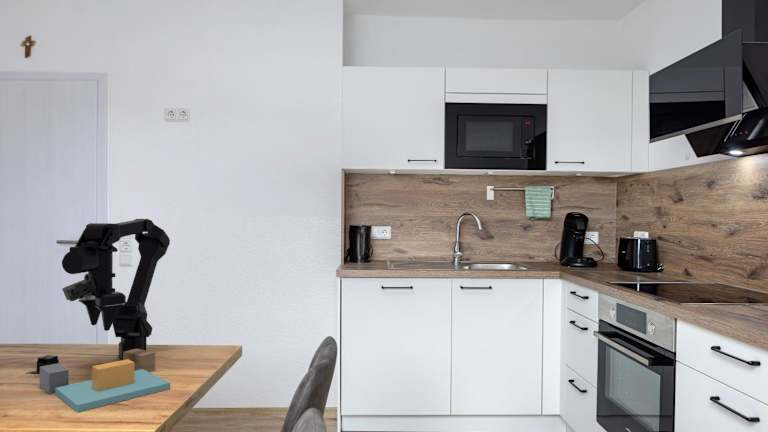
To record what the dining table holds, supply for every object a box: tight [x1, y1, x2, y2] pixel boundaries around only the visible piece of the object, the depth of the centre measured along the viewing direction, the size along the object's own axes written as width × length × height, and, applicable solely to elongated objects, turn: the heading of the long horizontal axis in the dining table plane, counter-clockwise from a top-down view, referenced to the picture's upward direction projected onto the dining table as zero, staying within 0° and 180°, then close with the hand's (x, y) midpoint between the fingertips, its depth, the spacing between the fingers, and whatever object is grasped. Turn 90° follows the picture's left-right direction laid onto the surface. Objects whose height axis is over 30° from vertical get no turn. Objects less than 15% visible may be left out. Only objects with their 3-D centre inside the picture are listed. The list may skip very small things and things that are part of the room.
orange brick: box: [91, 359, 134, 391], centre depth 118 cm, size 8×4×5 cm, turn 138°
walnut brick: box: [122, 349, 156, 373], centre depth 135 cm, size 8×4×5 cm, turn 61°
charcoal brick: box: [38, 362, 70, 395], centre depth 120 cm, size 8×4×5 cm, turn 48°
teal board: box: [54, 369, 171, 413], centre depth 118 cm, size 20×16×2 cm
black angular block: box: [25, 354, 60, 376], centre depth 133 cm, size 12×7×5 cm, turn 76°
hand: (100, 327), depth 133 cm, fingers open, 9 cm apart
